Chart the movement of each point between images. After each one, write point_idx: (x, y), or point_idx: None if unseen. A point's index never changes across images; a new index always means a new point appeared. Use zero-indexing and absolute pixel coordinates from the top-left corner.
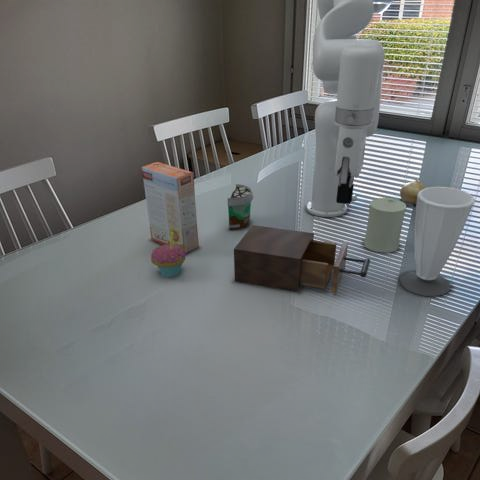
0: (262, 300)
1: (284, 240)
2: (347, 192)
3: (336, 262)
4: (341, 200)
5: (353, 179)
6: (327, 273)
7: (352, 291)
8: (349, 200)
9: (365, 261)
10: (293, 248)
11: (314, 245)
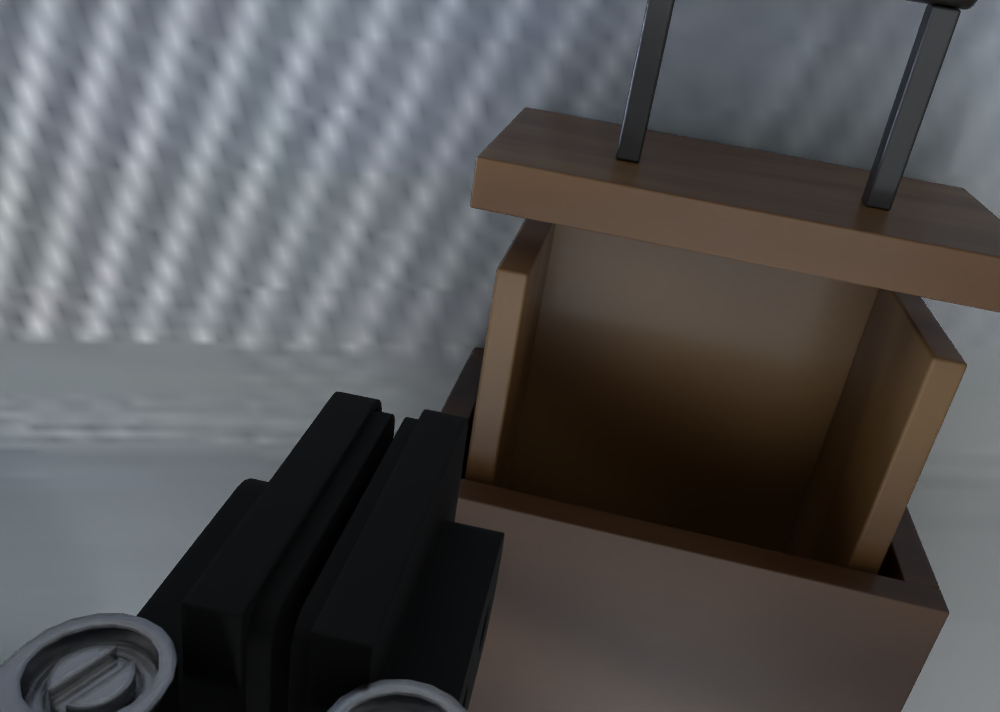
0: (975, 630)
1: (591, 703)
2: (471, 653)
3: (949, 288)
4: (491, 601)
5: (23, 682)
6: (705, 264)
7: (857, 37)
8: (452, 468)
9: None
10: (739, 651)
11: (503, 436)
